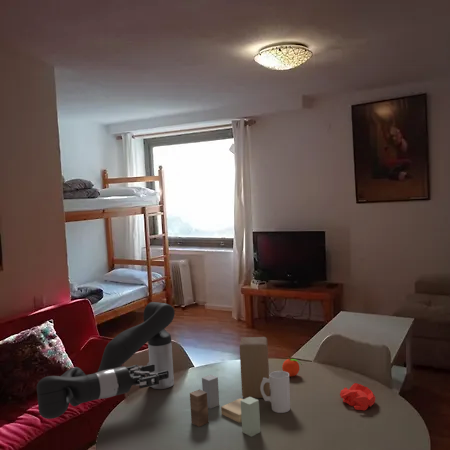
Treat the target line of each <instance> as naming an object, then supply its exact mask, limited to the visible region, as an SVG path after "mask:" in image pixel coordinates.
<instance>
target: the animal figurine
mask: <svg viewBox="0 0 450 450" xmlns="http://www.w3.org/2000/svg"><path fill="white" fill-rule="evenodd" d="M339 396H340V398H341V399H343V400H342V402H343V403H346V404H347V405H349V406H351V407H354V410H358V411H366V410H367V409H368V408H369V407H372V406H373V405H374V404H375V402H376V396H375V393H374V392H373V391H372V390H371V389H370V388H369V387H367V386H365V385H362V384H360V383H357V382H354V383H353V384H352V385H351V386H350V387H349V388H348V387H343V389H341V390H340V392H339Z"/></svg>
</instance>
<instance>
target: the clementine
mask: <svg viewBox="0 0 450 450" xmlns="http://www.w3.org/2000/svg"><path fill="white" fill-rule="evenodd" d="M299 363H300V361H299V360H298V359H295V358H287V359H285V360H284V361H283V363H282V367H281V368H282V371H285V372H288V373H289V378H290V377H295V376H296V375H298V374H299V371H300V364H301V365H302V363H300V364H299ZM302 366H303V365H302Z"/></svg>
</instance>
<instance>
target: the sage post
mask: <svg viewBox="0 0 450 450" xmlns="http://www.w3.org/2000/svg"><path fill="white" fill-rule="evenodd" d="M242 399H243V400H241V419H242V422H241V430H242V431H241V432H242V434H246V436H249V437H254V436H256V435H257V434H259V433H261V418H260V416H261V415H260V401H259V399H258V398H252V397H248V398H242Z"/></svg>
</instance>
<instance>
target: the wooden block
mask: <svg viewBox="0 0 450 450" xmlns="http://www.w3.org/2000/svg"><path fill="white" fill-rule="evenodd" d="M268 345H269V344H268V338H267V337H266V336H253V337H252V336H249V337H248V336H246V337H244V336H243V337H241V338H240V343H239V360H240V361H239V362H240V377H241V378H240V379H241V380H240V381H241V382H240V383H241V395H242V397H243V398H242V399H245V398H248V397H252V398H255V399H264V398H263V396H262V394H261V390H260V386H261V382H262V380H263V377H264V378H267V379H269V378H270V377H269V374H270V368H269V367H270V364H269V348H268ZM263 390H264V393H265V395H266V396H271V391H270V383H268V382H267V383H265V384H264V386H263Z"/></svg>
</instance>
